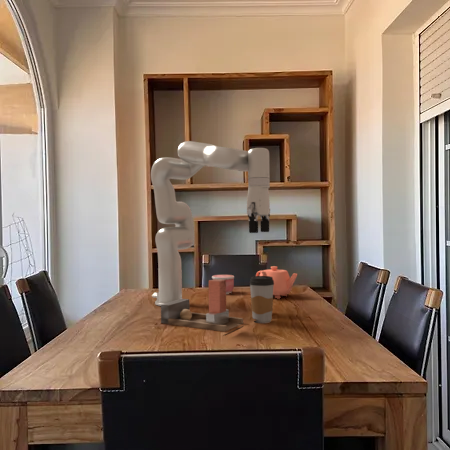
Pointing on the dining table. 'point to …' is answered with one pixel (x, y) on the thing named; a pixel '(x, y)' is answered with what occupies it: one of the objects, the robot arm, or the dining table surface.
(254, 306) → the coffee cup
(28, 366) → the dining table surface
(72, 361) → the dining table surface
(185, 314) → the walnut
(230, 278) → the container
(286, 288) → the teapot
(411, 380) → the dining table surface
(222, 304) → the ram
